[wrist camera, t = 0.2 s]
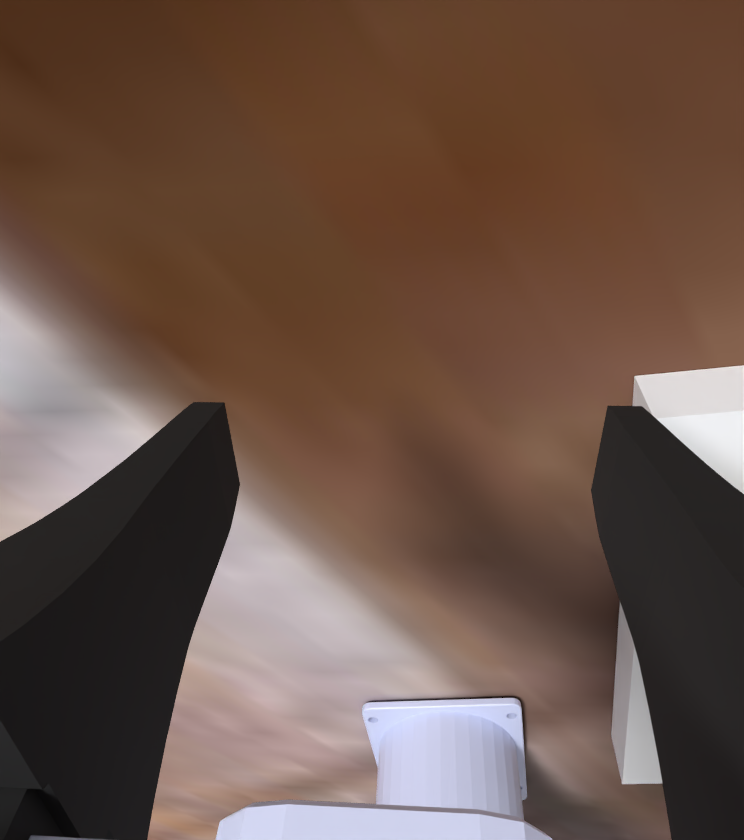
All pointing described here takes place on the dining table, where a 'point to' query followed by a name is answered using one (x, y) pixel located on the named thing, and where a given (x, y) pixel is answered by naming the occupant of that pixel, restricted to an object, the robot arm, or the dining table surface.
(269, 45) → the dining table surface
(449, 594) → the dining table surface
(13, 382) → the dining table surface
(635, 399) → the plate
